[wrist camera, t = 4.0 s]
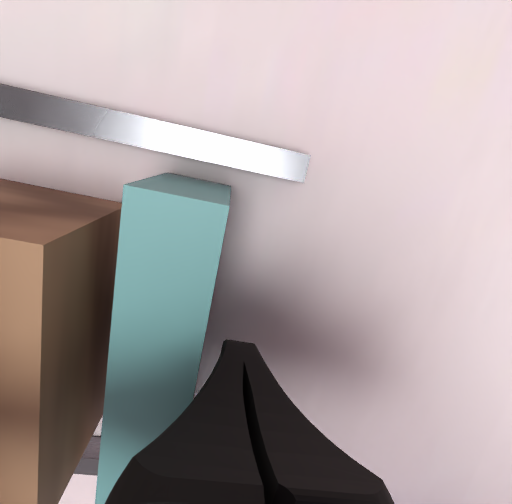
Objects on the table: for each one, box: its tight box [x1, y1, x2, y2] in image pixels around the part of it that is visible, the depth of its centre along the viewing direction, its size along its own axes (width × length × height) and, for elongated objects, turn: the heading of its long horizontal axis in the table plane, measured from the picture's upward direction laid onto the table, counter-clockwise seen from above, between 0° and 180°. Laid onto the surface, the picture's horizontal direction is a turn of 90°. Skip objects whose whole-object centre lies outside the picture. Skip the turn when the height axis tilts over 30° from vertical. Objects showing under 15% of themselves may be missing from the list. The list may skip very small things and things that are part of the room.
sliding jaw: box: [95, 173, 231, 504], centre depth 12 cm, size 3×13×5 cm, turn 168°
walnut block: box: [0, 179, 122, 504], centre depth 11 cm, size 5×10×6 cm, turn 167°
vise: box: [0, 84, 311, 476], centre depth 11 cm, size 16×16×6 cm
